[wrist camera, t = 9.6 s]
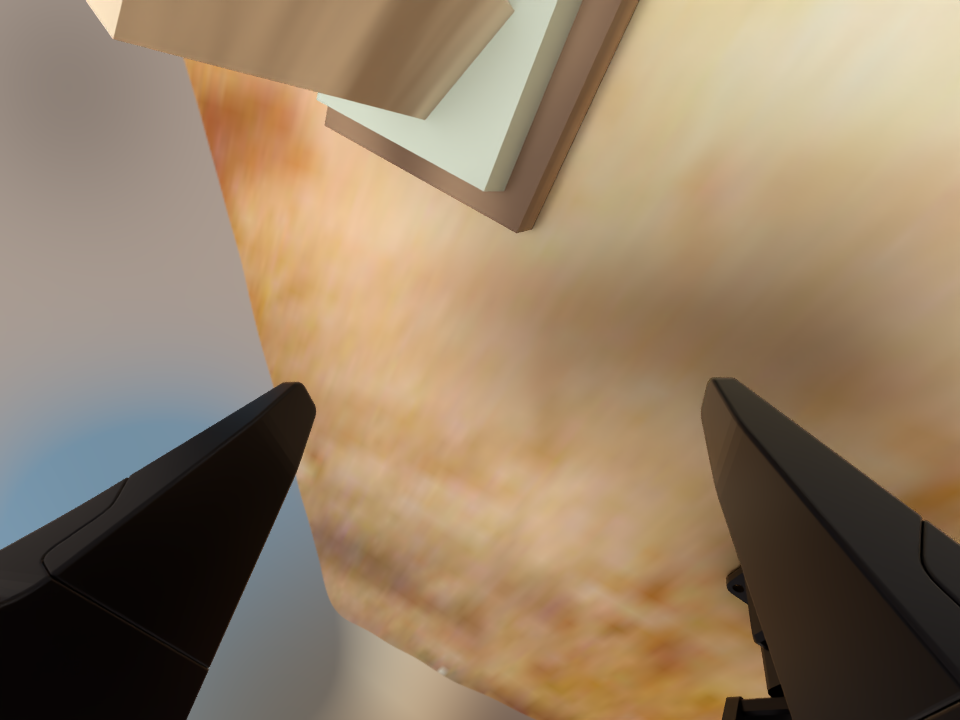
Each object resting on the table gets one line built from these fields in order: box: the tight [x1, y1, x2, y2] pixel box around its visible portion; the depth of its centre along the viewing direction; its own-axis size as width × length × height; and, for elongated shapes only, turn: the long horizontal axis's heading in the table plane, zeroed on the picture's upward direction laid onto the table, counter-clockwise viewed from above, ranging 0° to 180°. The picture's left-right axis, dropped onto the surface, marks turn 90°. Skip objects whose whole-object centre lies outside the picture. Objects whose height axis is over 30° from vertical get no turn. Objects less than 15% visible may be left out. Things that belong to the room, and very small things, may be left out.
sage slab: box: [317, 0, 582, 191], centre depth 15 cm, size 8×8×2 cm
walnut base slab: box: [325, 0, 639, 233], centre depth 17 cm, size 11×11×2 cm
